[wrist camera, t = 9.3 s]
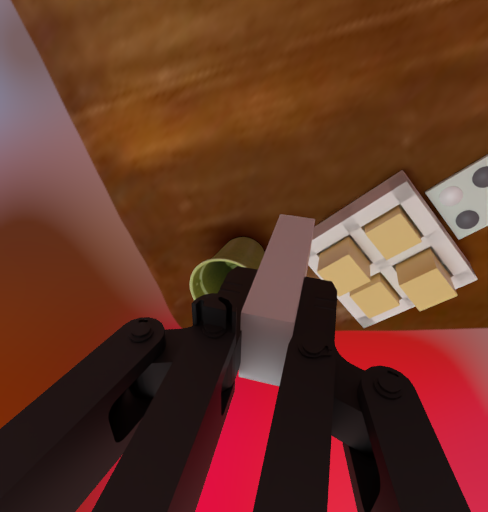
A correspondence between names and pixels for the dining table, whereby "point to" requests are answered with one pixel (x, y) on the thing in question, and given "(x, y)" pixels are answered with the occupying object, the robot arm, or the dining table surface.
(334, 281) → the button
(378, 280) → the tan cube block
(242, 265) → the plant pot
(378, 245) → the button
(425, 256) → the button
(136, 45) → the dining table surface
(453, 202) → the pattern card
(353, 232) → the board
